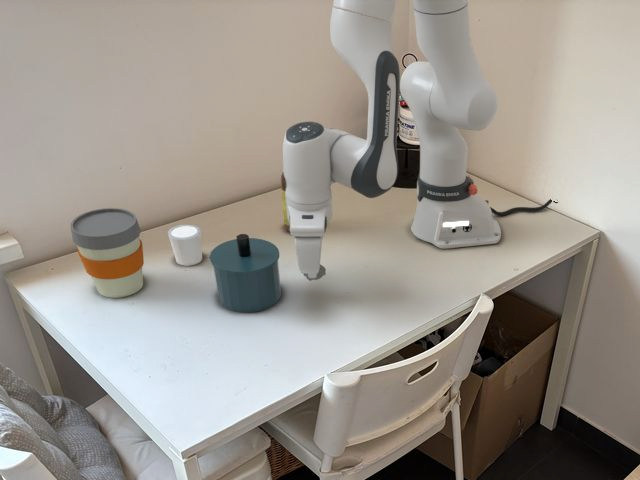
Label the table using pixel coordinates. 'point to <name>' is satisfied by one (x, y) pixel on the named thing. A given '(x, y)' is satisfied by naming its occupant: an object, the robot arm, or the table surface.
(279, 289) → the pot
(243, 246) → the pot lid
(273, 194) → the table surface
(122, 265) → the reusable coffee cup
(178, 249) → the white cylinder
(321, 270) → the figurine
